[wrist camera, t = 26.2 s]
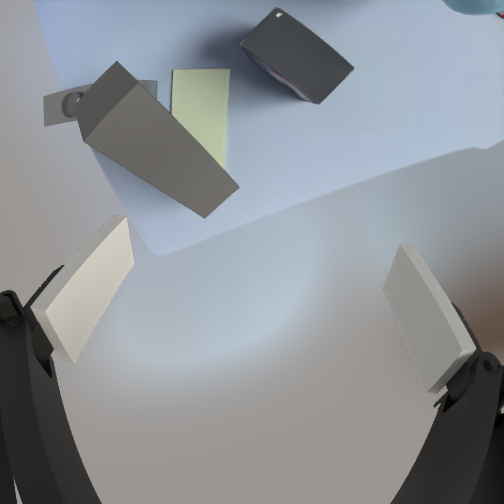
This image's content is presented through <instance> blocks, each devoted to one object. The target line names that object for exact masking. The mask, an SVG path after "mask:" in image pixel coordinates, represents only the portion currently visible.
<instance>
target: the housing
mask: <svg viewBox="0 0 504 504" xmlns="http://www.w3.org/2000/svg"><path fill="white" fill-rule="evenodd" d="M137 81H138V82H139V83H140V84H141V85H142V86H144V87H145V88H146V89H147V90H148V91H149V92H150V93H151V94H152V95H153V96H154V97H155V98H156V99H157V82H158V81H149V80H137ZM92 85H93V84H90V85H85V86H81V87H77V88H72V89H68V90H65V91H61V92H57V93H54V94H50V95H47V96H44V124H45V126H49V125H54V124H59V123H64V122H70V121H76V120H77V116H76V112H75V108H74V105H75V104H76V103H77V102H78V101H79V99H80V98H81V97H82V96H83V95H84V94H85V93H86V92H87V90H88V89H89V88H90V87H91V86H92Z"/></svg>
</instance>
